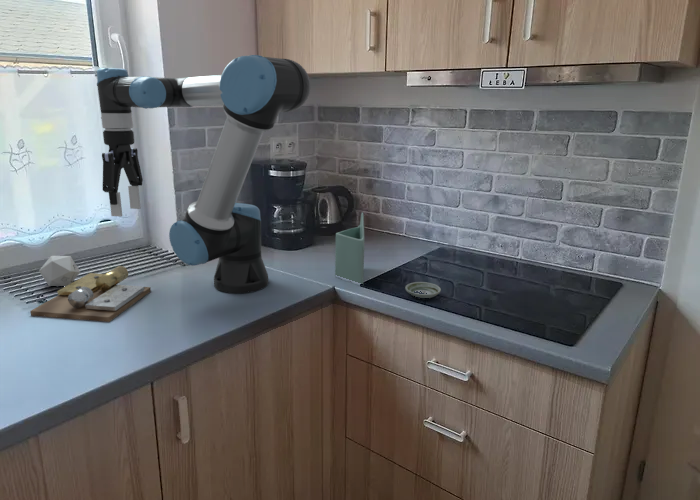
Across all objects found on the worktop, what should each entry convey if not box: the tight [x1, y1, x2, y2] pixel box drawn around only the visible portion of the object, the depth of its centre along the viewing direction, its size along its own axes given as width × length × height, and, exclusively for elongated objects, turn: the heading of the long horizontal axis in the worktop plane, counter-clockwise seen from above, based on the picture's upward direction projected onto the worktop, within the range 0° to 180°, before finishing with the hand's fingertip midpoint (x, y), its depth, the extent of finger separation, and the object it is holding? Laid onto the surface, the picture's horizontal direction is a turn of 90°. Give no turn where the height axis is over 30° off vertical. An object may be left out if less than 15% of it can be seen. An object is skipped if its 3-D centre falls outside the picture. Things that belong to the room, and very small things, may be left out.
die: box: [38, 255, 81, 287], centre depth 145 cm, size 8×9×10 cm
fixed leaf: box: [68, 284, 145, 311], centre depth 133 cm, size 12×14×4 cm
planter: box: [334, 212, 365, 285], centre depth 155 cm, size 16×8×20 cm, turn 2°
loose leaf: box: [57, 265, 129, 296], centre depth 141 cm, size 12×14×4 cm
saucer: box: [404, 281, 442, 299], centre depth 144 cm, size 10×10×2 cm
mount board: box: [30, 285, 152, 323], centre depth 134 cm, size 20×20×1 cm
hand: (126, 212), depth 147 cm, fingers open, 9 cm apart
